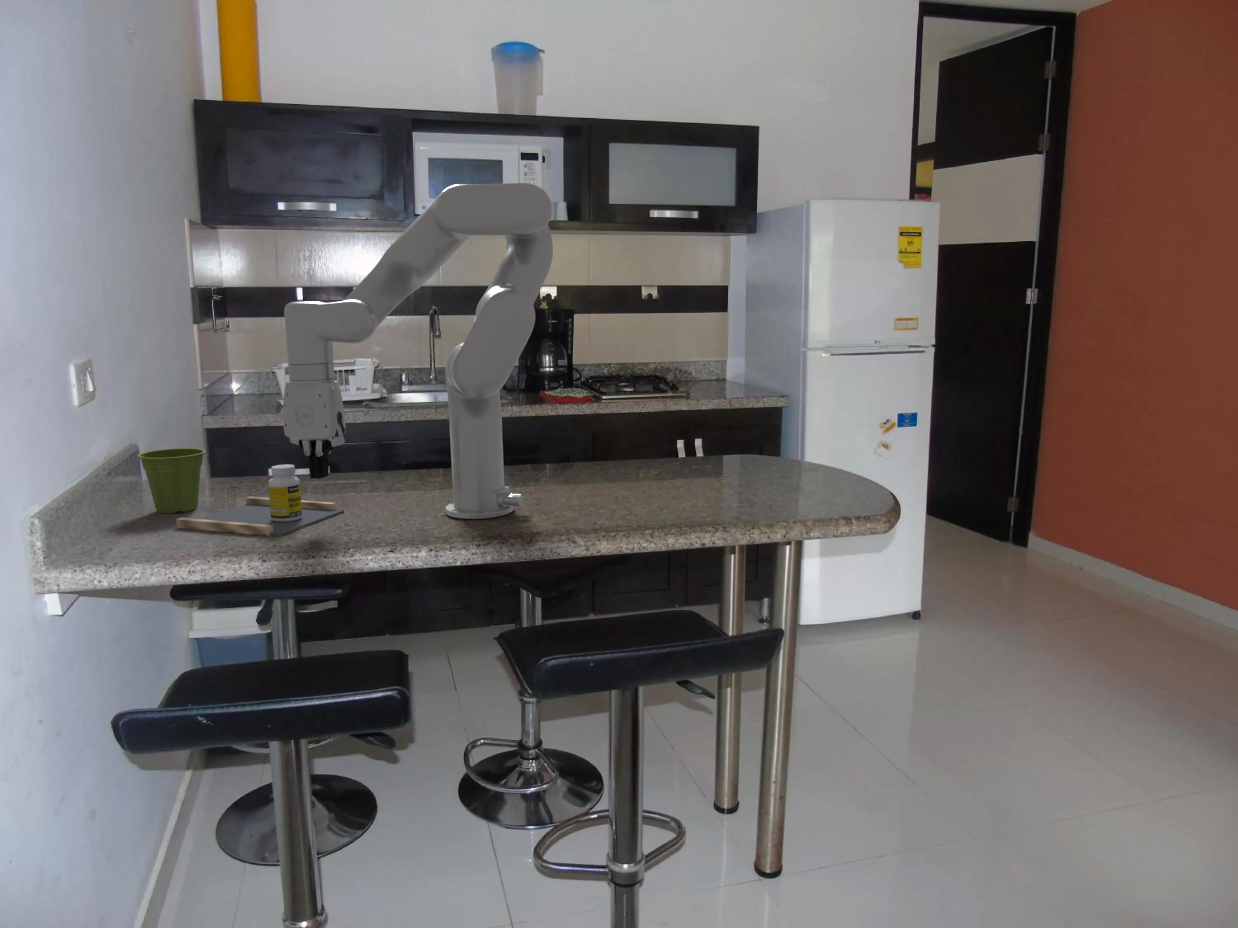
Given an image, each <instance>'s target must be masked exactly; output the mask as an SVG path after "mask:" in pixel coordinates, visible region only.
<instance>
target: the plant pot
mask: <svg viewBox="0 0 1238 928" xmlns="http://www.w3.org/2000/svg"><path fill="white" fill-rule="evenodd" d="M206 453H207V452H206V450H205V449H203V448H197V447H196V448H195V447H184V448H183V447H180V448H179V447H178V448H165V449H164V448H163V449H157V450H155V449H154V450H151V451H145V452H140V453H138V454H137V455H136V456H137V458H138V459H139V460H140V461H141V464H142V467H143V470H144V472H145V474H146V478H147V481H148V485H149V489H150V492H151V496H152V500H153V502H154V503H153V504H154V507H155V510H156V512H158V513H160V514H174V513H177V512H183V513H187V512H190V511H194V510H196V509H197V508H198V505H199V493H200V492H199V491H200V482H201V468H202V465H203V460H204V459H203V458H204V455H205V454H206Z"/></svg>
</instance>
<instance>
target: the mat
mask: <svg viewBox="0 0 1238 928" xmlns="http://www.w3.org/2000/svg"><path fill="white" fill-rule="evenodd" d="M342 512H343V513H345V509H338V508H336V509H335V510H321V509H308V508H302V517H301V518H300V519H298V520H295V521H290V522H275V521H272V520H271V513H270V506H268V505H254V504H247V503H246V504H242V505H239V506H235V507H232V508H229V509H226V510H222V511H220V512H219V511H218V512H216V513H213V514H210V515H207V516H204V517H200V518H199V519H204V520H216V521H228V522H240V523H252V524H264V525H273V532H272V533H270V536H272V535H273V537H274V536H275V537H282V536H285V535H287V534H290V533H293V532H294V531H298V530H301V529H303V528H306V527H309V526H311V525H314V524H317V523H318V522H321V520H322V521H324V520H328V519H329V518H332V517H335V516H337V515H336V514H338V513H340V514H343V513H342ZM334 515H335V516H334ZM338 515H339V514H338ZM331 516H332V517H331ZM313 523H314V524H313ZM302 527H303V528H302ZM300 528H301V529H300ZM292 531H293V532H292ZM284 534H285V535H284Z"/></svg>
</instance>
